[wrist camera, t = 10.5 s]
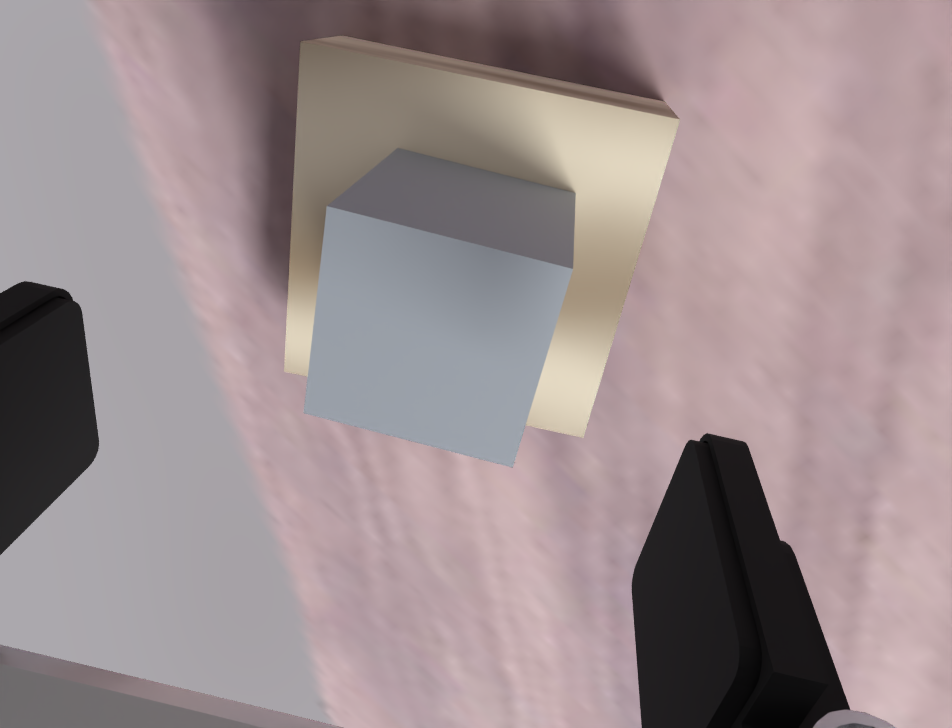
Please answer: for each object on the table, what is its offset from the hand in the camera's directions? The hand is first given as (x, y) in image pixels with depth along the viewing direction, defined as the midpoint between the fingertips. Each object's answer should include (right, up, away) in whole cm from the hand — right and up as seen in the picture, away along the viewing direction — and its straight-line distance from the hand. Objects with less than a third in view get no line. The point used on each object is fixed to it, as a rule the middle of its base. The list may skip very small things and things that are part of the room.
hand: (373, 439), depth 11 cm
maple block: (+2, +6, +13) cm, 14 cm away
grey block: (+1, +4, +9) cm, 10 cm away
